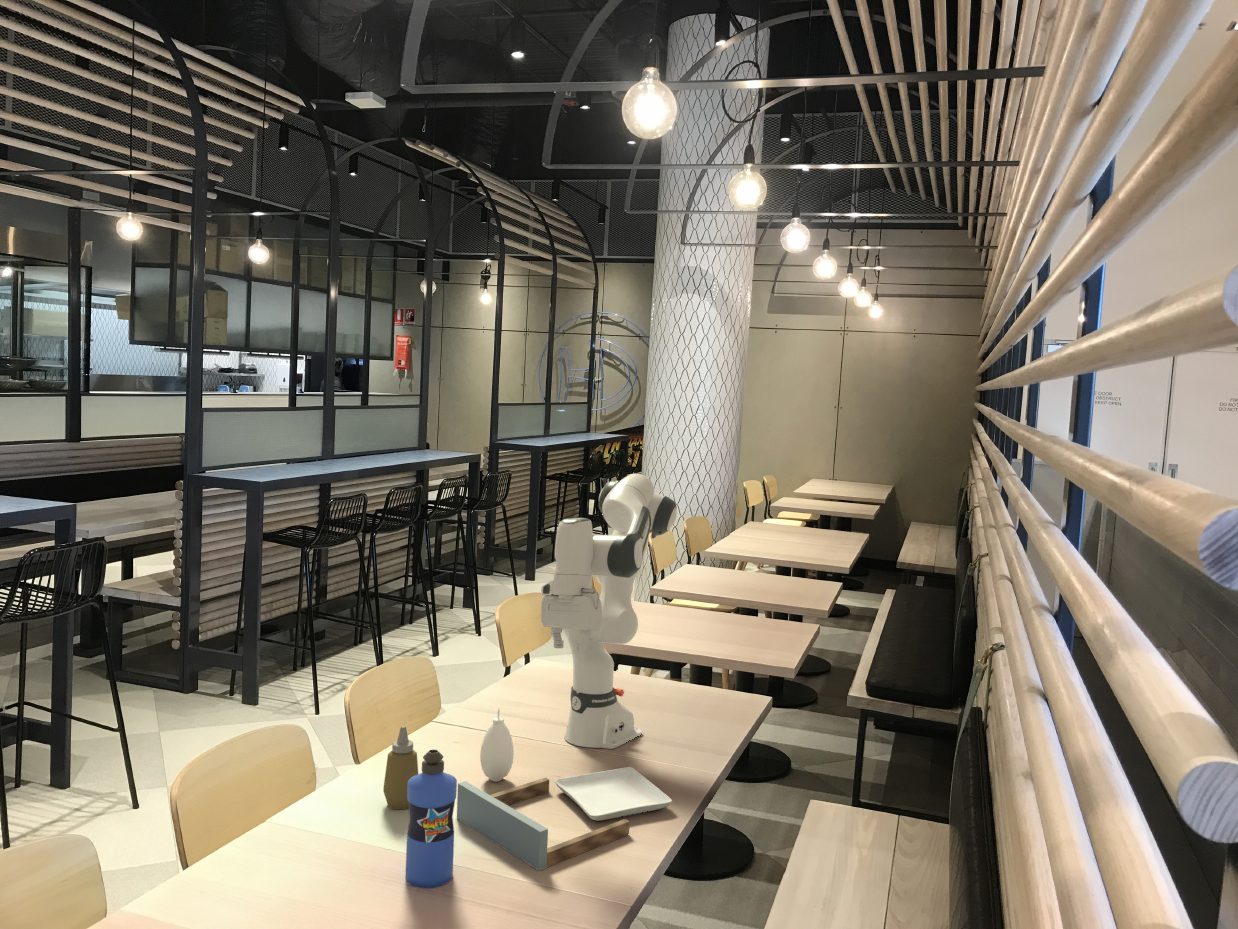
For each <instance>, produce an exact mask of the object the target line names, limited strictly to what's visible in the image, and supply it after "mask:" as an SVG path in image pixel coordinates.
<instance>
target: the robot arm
mask: <svg viewBox="0 0 1238 929" xmlns="http://www.w3.org/2000/svg"><path fill="white" fill-rule="evenodd" d="M597 506H598V509H599V510H600V513H602V515H603V516H602V517H603V519H604V520H605V522H606V523H607V524H608V525H609V527H611V529H612V530H613V532H611V534H595V533H594V531H593V523H592V521H591V519H589V518H586V517H573V518H571V517H570V518H564V519H562V520H561V521H559V524H558V525H557V530H556V536H555V542H554V543H555V545H554V558H555V567H554V571H553V579H551V580H549V581H548V582H547V583H545V584H543V585H542V586H541V589H540V591H541V595H542V600H541V606H540V607H541V608H540V620H541V622H540V623H541V625H542V627H543V628H550V629H551V630H550V631H551V632H550V634H551V637H552V640H553V648H554V649H563V648H564V643H565V642H564V641H565V640H563V639H562V633H564V635H565V637H566V638H567V641H568V642H567V643H568V644H569V647H570V651H571V655H572V656H571V657H572V666H573V668H572V670H573V671H572V673H573V674H572V686H571V688H570V709H569V710H570V711H569V717H568V723H567V725H566V730H565V733H564V740H565V741H566V742H567V743H570V744H572V745H574V746H578V747H582V748H593V749H595V748H602V749H609V750H612V749H613V750H614V749H616V748H619V747H620V746H622V745H625V744H626V742H627V743H628V741H629V740H631V741H633V740H635V739H636V738H635V737H637V736H639V737H641V736H642V735H643V730H642V729H641V728H639V727H638V726H637V725H635V718H634V714H633V713H632V712H633V711H631V710H630V708H628V707H627V706H626V705H625V704H622V702H620V701H619V700H618V698H617V696H618V697H624V695H625V690H624V689H623V688H620V687H616V688H615V687H614V673H615V671H614V670H615V668H614V667H615V662H614V660H613V657H612V656H611V655H610V654H609V653H608V651H607V650H606V648H605V646H604V644H603V643H606V644H609V645H624V644H628V643H630V642H631V641H632V640H633V639H634V637H635V636H636V634H637V631H638V628H639V620H638V616H637V613H636V611H635V610H634V608H633V604H632V590H633V586H634V583H635V581H636V580H635V579H636V577H637V574H638V571H640V569H641V567H642V564H643V559H644V557H645V555H646V554H645V553H646V550H647V547H648V542H649V538H650V537H651V539H655V538H656V537H657V536H658V537H659V536H662V535H664V534H666V533H667V532H669V531H670V530H671V528H672V527H673V525H674V524H675V522H676V520H677V514H678V512H677V503H676V502H675V500H673V499H672V498H670V497H668V496H666V495H662V494H660V493H658V492H656V491H655V488H654V485H653V482H652V481H651V480H650V479H649V478H648V477H647V476H646V475H644V474H641V473H630V474H628V475H626V476H625V477H622V478H621V480H617V479H616V480H615V479H614V480H610V481H608V482H606V483H605V485H604V486H603V488H602V489H601V491H600V493H599V496H598V505H597ZM650 534H651V536H650ZM593 576H595V579H596V580H597V582H598V583H599V585H600V586H601V588H600V590H601V591H600V593H599V592H598V591H597V589H596V588H593ZM641 734H642V735H641ZM640 735H641V736H640ZM634 738H635V739H634ZM637 738H638V737H637ZM632 739H633V740H632ZM629 742H630V741H629Z"/></svg>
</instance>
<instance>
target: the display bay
mask: <svg viewBox="0 0 1238 929" xmlns="http://www.w3.org/2000/svg"><path fill="white" fill-rule="evenodd" d="M549 792H550V778H547V777H543V778H540V779H537V780H533V781H529V782H527V783H525V784H521V785H517V786H513V787H511V788H508V789H506V790H502V791H499V792H498V791H497V792H495V793H492V794H488V793H486V792H485V791H483V790H481V789H480V788H479V787H477V786H475V785H473V784H471V783H470V782H468V781H466V780H465V781H462V782H457V795H456V799H457V802H456V819H457V820H458V821H460V822H462V823H463V824H465V825H466V826H468V827H469V828H471V829H473V830H475V832H477V833H479V834H480V835H481V836H484V837H485V838H487V839H489V840H490V841H491V842H493V843H494V844H496V845H498V846H500V847H501V848H503V849H504V850H506V851H507V852H509V853H510V854H512V855H513V856H515V857H517V859H520V860H522V861H523V862H524V863H526V864H528V865H529V866H530V867H532V868H533V869H536V871H538V872H539V871H541V870H544V869H546V868H549V867H551V866H553V865H556V864H558V863H561V862H564V861H567V860H569V859H572V858H574V857H577V856H579V855H581V854H584V853H586V852H588V851H591V850H594V849H596V848H599V847H602V846H604V845H607V844H609V843H612V842H615V841H617V840H618V839H619V840H620V839H623V838H625V837H626V836H625V835H627V836H629V835H628V834H630V820H628V819H626V818H623V819H621V820H619V821H615V822H612V823H610V824H608V825H605V826H602V827H600V828H597V829H594V830H591V831H590V832H586V833H584V834H581V835H578V836H576V837H573V838H570V839H568V840H565V841H562V842H561V843H558V844H555V845H553V846H550V847H548V842H549V840H548V839H549V828H547V827H546V826H544V825H542V824H540V823H539V822H538V821H536V820H533V819H532V818H530V817H528V816H526V815H524V814H523V813H521V812H520V811H518V810H516V809H514V808H513V807H511V806H510V805H513V804H516V803H519V802H523V801H526V800H529V799H531V798H532V799H533V798H534V797H538V796H541V795H544V794H547V793H549ZM616 839H617V840H616ZM611 841H612V842H611Z"/></svg>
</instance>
